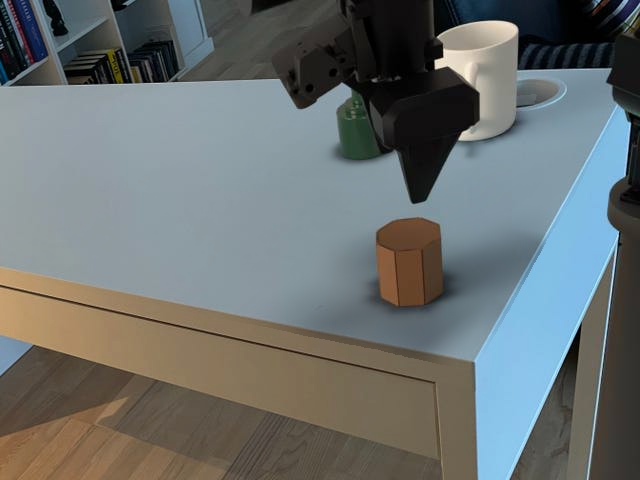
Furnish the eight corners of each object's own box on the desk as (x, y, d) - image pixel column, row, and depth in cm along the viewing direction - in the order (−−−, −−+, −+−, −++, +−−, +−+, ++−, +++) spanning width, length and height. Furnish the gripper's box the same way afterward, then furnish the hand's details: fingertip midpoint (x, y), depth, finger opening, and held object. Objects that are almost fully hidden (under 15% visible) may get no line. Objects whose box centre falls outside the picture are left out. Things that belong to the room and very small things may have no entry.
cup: (517, 105, 89) (520, 15, 82) (512, 155, 81) (514, 59, 74) (441, 112, 92) (438, 26, 86) (429, 160, 84) (425, 69, 78)
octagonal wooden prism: (455, 284, 67) (454, 229, 63) (412, 313, 65) (408, 258, 62) (410, 264, 70) (406, 211, 67) (368, 291, 69) (362, 238, 66)
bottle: (404, 142, 89) (400, 72, 84) (366, 164, 87) (359, 94, 82) (367, 131, 93) (361, 65, 88) (330, 152, 92) (321, 86, 87)
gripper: (252, -28, 60) (283, 154, 70) (292, 41, 46) (324, 259, 55) (395, -69, 59) (407, 122, 68) (482, -12, 44) (483, 222, 54)
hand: (401, 175), depth 61 cm, fingers open, 9 cm apart
